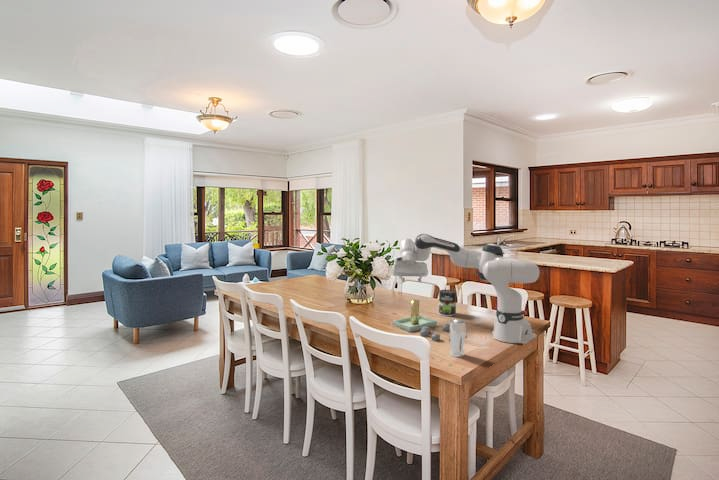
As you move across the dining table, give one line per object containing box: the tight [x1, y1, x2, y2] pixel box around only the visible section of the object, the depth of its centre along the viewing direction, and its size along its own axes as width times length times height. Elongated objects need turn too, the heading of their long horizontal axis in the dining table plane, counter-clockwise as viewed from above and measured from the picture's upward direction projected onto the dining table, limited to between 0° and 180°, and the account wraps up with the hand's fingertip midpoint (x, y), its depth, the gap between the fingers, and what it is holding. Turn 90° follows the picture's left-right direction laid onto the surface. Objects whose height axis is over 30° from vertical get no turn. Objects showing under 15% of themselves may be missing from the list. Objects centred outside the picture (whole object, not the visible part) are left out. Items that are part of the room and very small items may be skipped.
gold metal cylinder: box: [410, 299, 420, 325], centre depth 209 cm, size 4×4×13 cm
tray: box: [392, 314, 438, 333], centre depth 210 cm, size 20×14×3 cm
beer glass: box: [448, 318, 467, 358], centre depth 167 cm, size 7×7×15 cm
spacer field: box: [419, 324, 451, 343], centre depth 193 cm, size 19×21×2 cm
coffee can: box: [438, 289, 457, 317], centre depth 232 cm, size 10×10×14 cm
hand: (411, 281), depth 214 cm, fingers open, 8 cm apart
